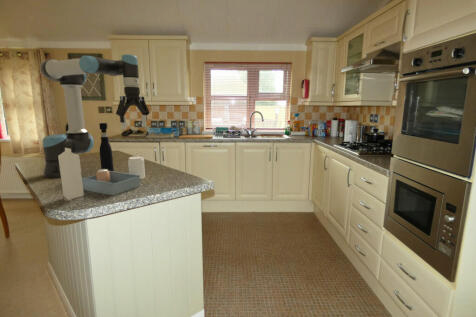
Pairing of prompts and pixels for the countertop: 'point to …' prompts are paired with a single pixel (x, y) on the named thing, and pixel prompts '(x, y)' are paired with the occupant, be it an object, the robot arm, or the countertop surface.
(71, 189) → the milk
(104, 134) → the wine bottle
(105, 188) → the tote
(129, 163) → the beverage can
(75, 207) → the countertop surface
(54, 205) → the countertop surface
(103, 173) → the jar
